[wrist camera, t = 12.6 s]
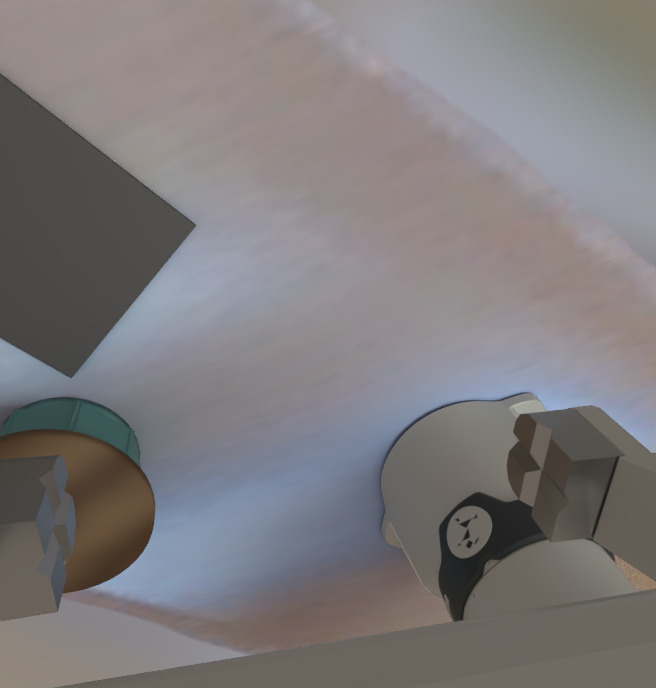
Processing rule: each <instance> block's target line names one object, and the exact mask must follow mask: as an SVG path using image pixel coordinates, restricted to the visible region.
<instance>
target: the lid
mask: <svg viewBox="0 0 656 688" xmlns="http://www.w3.org/2000/svg"><path fill="white" fill-rule="evenodd" d="M54 455H61V456H62V457H63V459H64V460H65V464H66V468H67V473H68V478H67V482H66V485H65V489H64V491H65V492H67V493H68V494H69V495H71V496H72V497H73V502H74V507H75V517H76V530H75V542H74V547H73V551H72V555H71V556H70V557H69V558H68V559H67V560H66V561H65V562H63V563H64V568H65V572H66V581H65V585H64V589H63V593H68V592H74V591H79V590H83V589H87V588H90V587H93V586H96V585H99V584H101V583H103V582H105V581H108V580H110V579H111V578H113V577H115V576H117V575H118V574H120V573H121V572H123V571H124V570H125V569H127V568H128V567H129V566H130V565H131V564H132V563H133V562H134V561H136V560H137V558H138V557H139V556H140V555H141V553H142V552H143V551H144V549H145V547H146V546H147V544H148V542H149V539H150V537H151V534H152V530H153V526H154V516H155V500H154V494H153V491H152V488H151V485H150V483H149V481H148V479H147V477H146V475H145V474H144V472H143V471H142V470H141V468H140V467H139V466H138V465H137V464H136V463H135V462H134V461H133V460H132V459H131V458H130V457H129V456H128V455H126V454H125V453H124V452H123V451H121V450H120V449H118V448H116V447H115V446H113V445H111V444H109V443H107V442H105V441H103V440H101V439H98V438H95V437H92V436H89V435H86V434H83V433H78V432H74V431H67V430H59V429H35V430H25V431H20V432H15V433H10V434H7V435H4V436H1V437H0V459H12V458H26V457H40V456H54Z"/></svg>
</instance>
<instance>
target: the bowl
mask: <svg viewBox="0 0 656 688" xmlns="http://www.w3.org/2000/svg"><path fill="white" fill-rule="evenodd" d="M35 429H59V430H67V431H74V432H78V433H83V434H86V435H89V436H92V437H95V438H98V439H101V440H103V441H105V442H107V443H109V444H111V445H113V446H115V447H116V448H118V449H120V450H121V451H123V452H124V453H125V454H126V455H128V456H129V457H130V458H131V459H132V460H133V461H134V462H135V463H136V464H137V465H138V466H139V467H140V468H141V466H140V450H139V445H138V441H137V438H136V436H135V434H134V432H135V431H133V430H132V428H130V426H129V425H128V424H127V423H126V422H125V421H124V420H123V419H122V418H121V417H120V416H119V415H117V414H116V413H115V412H113V411H112V410H110V409H108V408H106V407H104V406H102V405H100V404H97V403H94V402H92V401H87V400H83V399H77V398H51V399H45V400H41V401H37V402H34V403H31V404H29V405H27V406H25V407H23V408H21V409H19V408H18V409H17V410H13V412H12V414H11V416H10V417H9V418H8V419H7V420H6V421H5V422H4V423H3V425H2V426H1V428H0V437H1V436H4V435H7V434H10V433H15V432H20V431H25V430H35Z"/></svg>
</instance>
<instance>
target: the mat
mask: <svg viewBox="0 0 656 688" xmlns="http://www.w3.org/2000/svg"><path fill="white" fill-rule="evenodd" d="M195 226H196V225H195V224H194V223H193V222H192V221H190V220H189V219H188V218H186V217H185V216H184V215H182V214H181V213H180V212H179V211H177V210H176V209H175V208H173V207H172V206H171V205H170V204H168V203H167V202H166V201H164V200H163V199H162V198H160V197H159V196H158V195H157V194H155V193H154V192H153V191H151V190H150V189H149V188H148V187H146V186H145V185H144V184H142V183H141V182H140V181H139V180H137V179H136V178H135V177H133V176H132V175H131V174H129V173H128V172H127V171H126V170H124V169H123V168H122V167H120V166H119V165H118V164H117V163H115V162H114V161H113V160H111V159H110V158H109V157H107V156H106V155H105V154H104V153H102V152H101V151H100V150H98V149H97V148H96V147H95V146H93V145H92V144H91V143H89V142H88V141H87V140H85V139H84V138H83V137H82V136H80V135H79V134H78V133H76V132H75V131H74V130H73V129H71V128H70V127H69V126H67V125H66V124H65V123H64V122H62V121H61V120H60V119H58V118H57V117H56V116H54V115H53V114H52V113H51V112H49V111H48V110H47V109H45V108H44V107H43V106H42V105H40V104H39V103H38V102H36V101H35V100H34V99H32V98H31V97H30V96H29V95H27V94H26V93H25V92H23V91H22V90H21V89H20V88H18V87H17V86H16V85H14V84H13V83H12V82H10V81H9V80H8V79H7V78H5V77H4V76H3V75H1V74H0V338H2V339H3V340H5V341H7V342H9V343H10V344H12V345H14V346H16V347H17V348H19V349H21V350H23V351H25V352H26V353H28V354H30V355H32V356H33V357H35V358H37V359H39V360H40V361H42V362H44V363H46V364H47V365H49V366H51V367H53V368H54V369H56V370H58V371H60V372H62V373H63V374H65V375H67V376H69V377H70V378H72V377H73V376H74V374H75V373H76V372H77V371H78V370H79V368H80V367H81V366H82V365H83V363H84V362H85V361H86V360H87V358H88V357H89V356H90V355H91V354H92V352H93V351H94V350H95V349H96V347H97V346H98V345H99V344H100V343H101V341H102V340H103V339H104V338H105V336H106V335H107V334H108V333H109V332H110V330H111V329H112V328H113V327H114V325H115V324H116V323H117V322H118V321H119V319H120V318H121V317H122V316H123V314H124V313H125V312H126V311H127V310H128V308H129V307H130V306H131V305H132V303H133V302H134V301H135V300H136V299H137V297H138V296H139V295H140V294H141V292H142V291H143V290H144V289H145V288H146V286H147V285H148V284H149V283H150V281H151V280H152V279H153V278H154V276H155V275H156V274H157V273H158V272H159V270H160V269H161V268H162V267H163V265H164V264H165V263H166V262H167V261H168V259H169V258H170V257H171V256H172V254H173V253H174V252H175V251H176V250H177V248H178V247H179V246H180V245H181V243H182V242H183V241H184V240H185V239H186V237H187V236H188V235H189V234H190V232H191V231H192V230H193V229H194V228H195Z"/></svg>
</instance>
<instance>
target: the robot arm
mask: <svg viewBox="0 0 656 688" xmlns="http://www.w3.org/2000/svg"><path fill="white" fill-rule="evenodd" d="M67 478H68V473H67V468H66V464H65V460H64V459H63V457H62V456H61V455H54V456H40V457H26V458H12V459H0V621H5V620H10V619H17V618H22V617H28V616H34V615H40V614H46V613H52V612H58V609H59V604H60V601H61V597H62V593H63V589H64V585H65V581H66V572H65V568H64V563H63V562H65V561H66V560H67V559H68V558H69V557H70V556H71V555H72V551H73V547H74V542H75V530H76V517H75V507H74V502H73V497H72V496H71V495H69V494H68V493H67V492H65V491H64V489H65V485H66V482H67ZM381 492H382V497H383V500H384V504H385V515H384V518H383V522H382V527H381V533H382V535H383V537H384V539H385V541H386V542H387V543H388V544H389V545H392V546H395V547H398V548H401V549H403V550H404V552H405V554H406V556H407V558H408V560H409V562H410V564H411V566H412V568H413V569H414V571H415V573H416V575H417V577H418V579H419V581H420V583H421V584H422V586H423V588H424V589H425V590H426V591H427V592H428V593H429V594H432V593H433V594H435V595H437V596H439V597H443V599H444V601H445V605H446V608H447V611H448V613H449V615H450V617H451V619H452V620H453V622H450V623H444V624H437V625H431V626H425V627H419V628H413V629H407V630H401V631H395V632H389V633H383V634H377V635H371V636H365V637H359V638H353V639H347V640H341V641H335V642H329V643H322V644H316V645H310V646H304V647H298V648H292V649H286V650H280V651H274V652H268V653H262V654H256V655H250V656H244V657H238V658H232V659H225V660H219V661H213V662H207V663H201V664H196V665H190V666H184V667H177V668H171V669H165V670H158V671H153V672H146V673H140V674H135V675H129V676H122V677H116V678H110V679H104V680H98V681H92V682H85V683H79V684H73V685H67V686H62V687H55V688H656V589H652V590H646V591H639V590H638V589H637V588H636V586H635V585H634V584H633V583H632V582H631V581H630V580H629V579H628V577H627V576H626V575H625V574H624V573H623V571H622V570H621V569H620V568H619V567H618V566H617V564H616V563H615V558H614V555H613V554H615V555H617V556H618V557H620V558H621V559H623V560H624V561H626V562H627V563H629V564H630V565H632V566H633V567H635V568H636V569H638V570H639V571H641V572H642V573H644V574H645V575H647V576H648V577H650V578H651V579H653V580H654V581H656V453H651V452H650V451H649V450H648V449H646V448H645V447H644V446H643V445H642V444H641V443H640V442H638V441H637V440H636V439H635V438H634V437H633V436H631V435H630V434H629V433H628V432H627V431H626V430H625V429H623V428H622V427H621V426H620V425H619V424H618V423H616V422H615V421H614V420H613V419H612V418H611V417H610V416H608V415H607V414H606V413H605V412H604V411H603V410H601V409H600V408H598V407H595V406H592V405H591V406H583V407H575V408H568V409H564V410H554V411H547V410H546V409H545V407H544V406H543V404H542V403H541V401H540V400H539V399H538V397H537V396H536V395H534V394H532V393H525V394H520V395H517V396H514V397H511V398H508V399H505V400H502V401H493V402H490V401H470V402H463V403H458V404H454V405H450V406H447V407H444V408H442V409H439V410H437V411H435V412H433V413H431V414H429V415H427V416H426V417H424V418H423V419H421V420H420V421H418V422H417V423H415V424H414V425H413V426H412V427H411V428H409V429H408V430H407V431H406V432H405V433H404V434H403V435H402V436H401V438H400V439H399V440H398V441H397V442H396V444H395V445H394V447H393V448H392V450H391V451H390V453H389V455H388V457H387V459H386V462H385V464H384V467H383V471H382V476H381Z"/></svg>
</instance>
